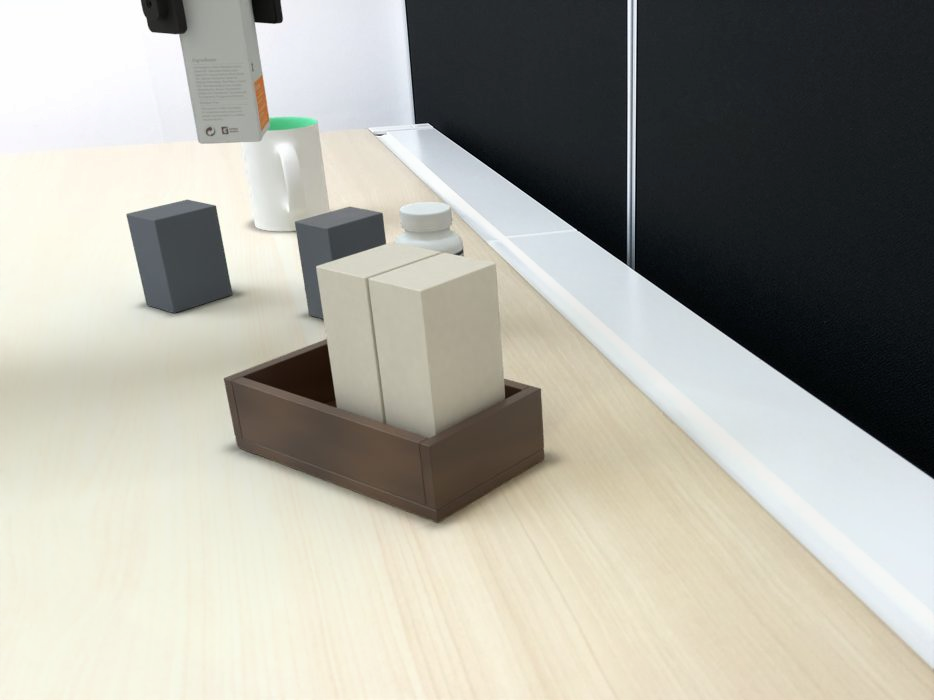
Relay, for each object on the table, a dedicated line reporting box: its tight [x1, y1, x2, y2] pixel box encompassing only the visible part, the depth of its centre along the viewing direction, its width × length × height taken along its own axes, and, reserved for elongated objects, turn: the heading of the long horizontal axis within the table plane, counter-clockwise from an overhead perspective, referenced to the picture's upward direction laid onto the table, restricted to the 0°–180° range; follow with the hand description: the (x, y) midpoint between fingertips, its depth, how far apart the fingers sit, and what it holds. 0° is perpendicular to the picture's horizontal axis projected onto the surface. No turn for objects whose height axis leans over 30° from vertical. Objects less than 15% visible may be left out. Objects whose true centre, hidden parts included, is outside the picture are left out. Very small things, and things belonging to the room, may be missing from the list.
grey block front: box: [295, 206, 387, 320], centre depth 92 cm, size 4×6×8 cm, turn 146°
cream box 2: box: [368, 253, 505, 438], centre depth 64 cm, size 4×6×12 cm, turn 146°
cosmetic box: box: [178, 0, 270, 145], centre depth 74 cm, size 6×4×12 cm
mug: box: [240, 116, 331, 232], centre depth 117 cm, size 12×8×10 cm, turn 26°
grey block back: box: [125, 199, 233, 314], centre depth 95 cm, size 4×6×8 cm, turn 146°
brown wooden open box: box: [223, 338, 546, 523], centre depth 68 cm, size 18×10×5 cm, turn 56°
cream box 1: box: [316, 241, 441, 424], centre depth 66 cm, size 4×6×12 cm, turn 146°
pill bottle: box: [394, 201, 465, 257], centre depth 88 cm, size 5×5×10 cm
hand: (218, 25), depth 74 cm, fingers closed on cosmetic box, 7 cm apart
